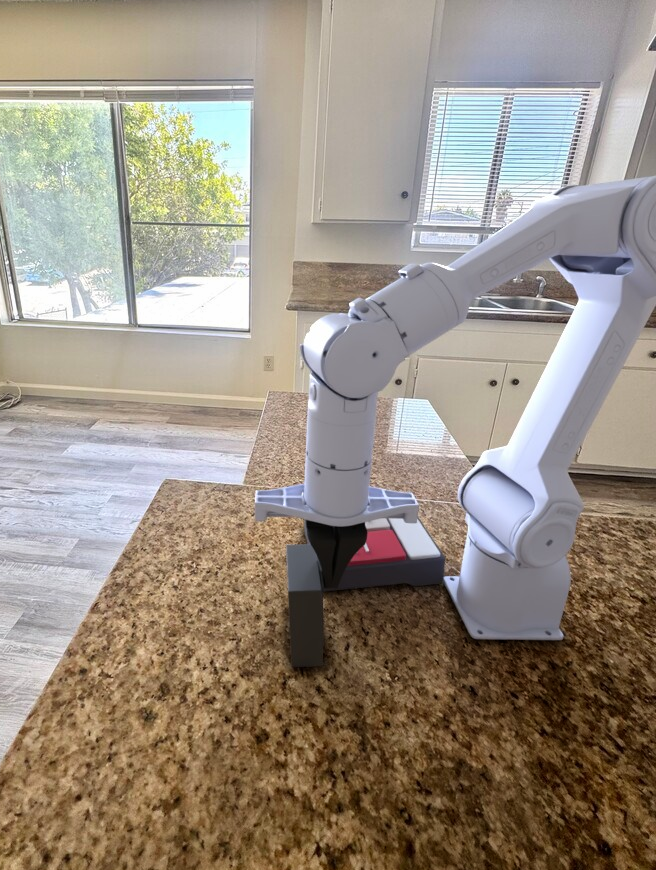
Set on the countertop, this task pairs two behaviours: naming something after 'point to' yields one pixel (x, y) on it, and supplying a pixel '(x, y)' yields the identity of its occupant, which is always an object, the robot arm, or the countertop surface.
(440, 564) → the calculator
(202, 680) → the countertop surface
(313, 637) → the block
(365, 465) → the robot arm
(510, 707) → the countertop surface
